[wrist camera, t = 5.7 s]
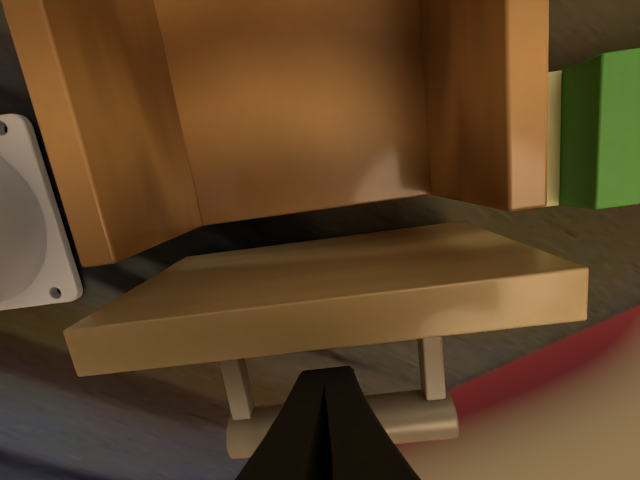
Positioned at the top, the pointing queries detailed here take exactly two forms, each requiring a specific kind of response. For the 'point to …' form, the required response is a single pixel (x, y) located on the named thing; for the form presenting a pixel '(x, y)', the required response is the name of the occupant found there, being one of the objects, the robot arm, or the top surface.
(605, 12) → the top surface
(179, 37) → the drawer
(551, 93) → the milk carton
